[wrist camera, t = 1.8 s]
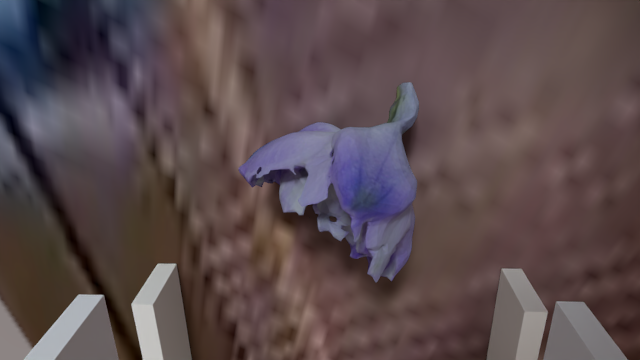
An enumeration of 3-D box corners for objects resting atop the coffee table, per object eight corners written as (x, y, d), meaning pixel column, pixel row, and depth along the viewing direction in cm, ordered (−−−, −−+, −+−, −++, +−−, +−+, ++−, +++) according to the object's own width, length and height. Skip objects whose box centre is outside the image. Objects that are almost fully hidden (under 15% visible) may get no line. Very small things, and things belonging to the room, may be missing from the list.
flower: (364, 7, 17) (280, 275, 16) (508, 96, 21) (445, 309, 21) (260, 42, 25) (201, 223, 24) (381, 101, 29) (333, 255, 29)
